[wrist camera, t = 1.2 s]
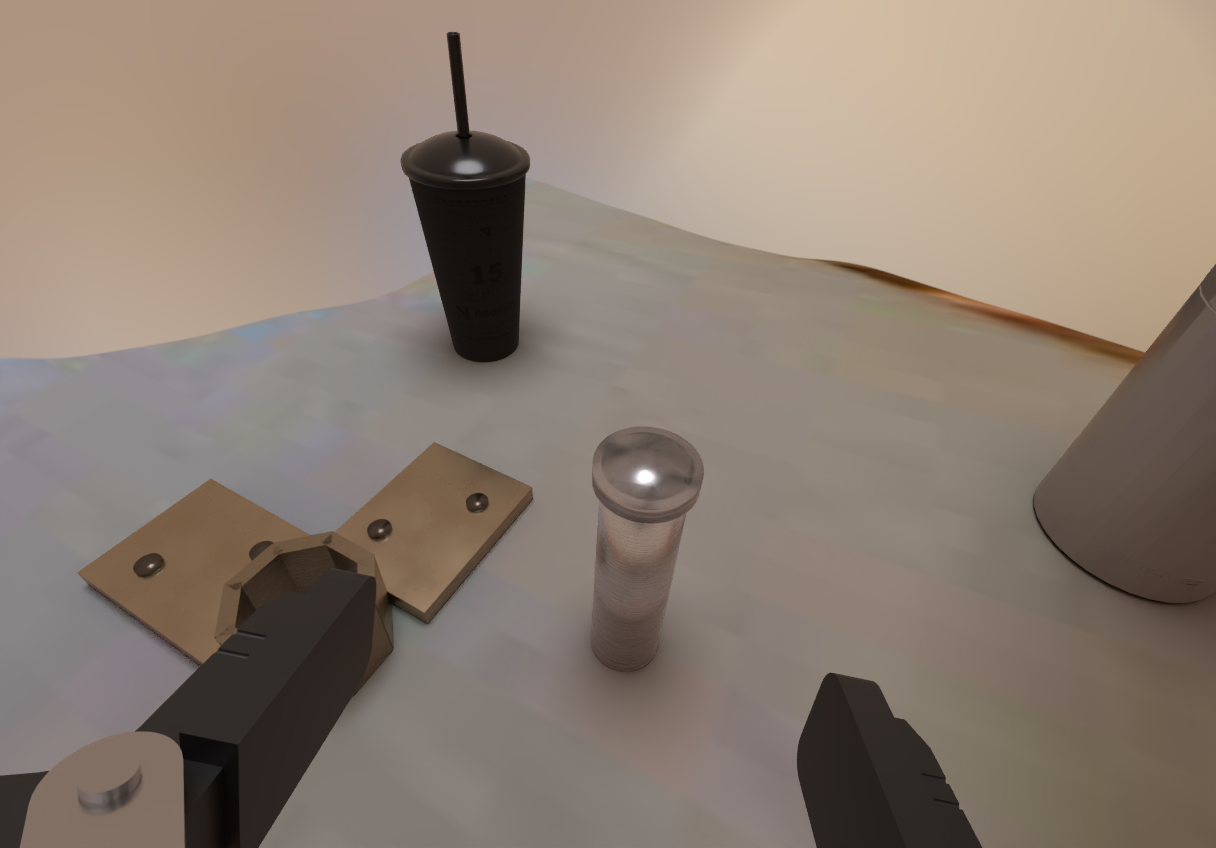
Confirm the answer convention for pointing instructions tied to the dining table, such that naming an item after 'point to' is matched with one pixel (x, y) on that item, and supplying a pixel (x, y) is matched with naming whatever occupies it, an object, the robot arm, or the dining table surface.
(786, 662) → the dining table surface
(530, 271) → the dining table surface
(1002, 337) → the dining table surface
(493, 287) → the drinking cup
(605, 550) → the hinge pin
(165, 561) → the hinge base
